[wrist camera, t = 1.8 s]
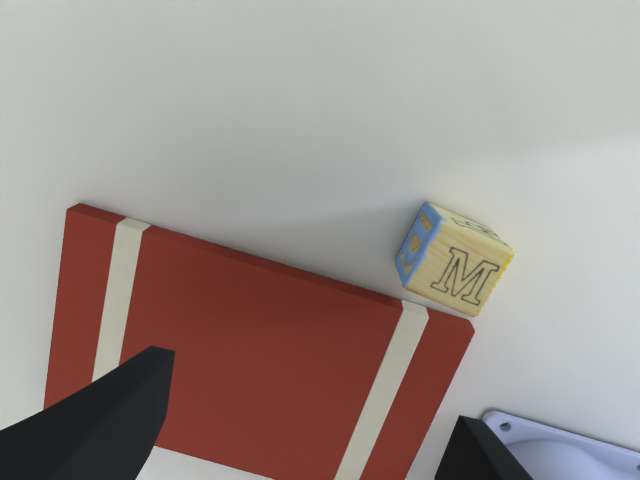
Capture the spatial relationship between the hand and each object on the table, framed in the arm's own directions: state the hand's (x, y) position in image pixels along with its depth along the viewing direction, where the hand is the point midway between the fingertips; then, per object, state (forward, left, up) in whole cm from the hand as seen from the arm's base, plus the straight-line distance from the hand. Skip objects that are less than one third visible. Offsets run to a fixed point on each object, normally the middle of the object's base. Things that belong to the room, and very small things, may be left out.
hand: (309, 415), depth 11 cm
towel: (+2, +6, -10) cm, 11 cm away
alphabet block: (-4, -3, -10) cm, 11 cm away
